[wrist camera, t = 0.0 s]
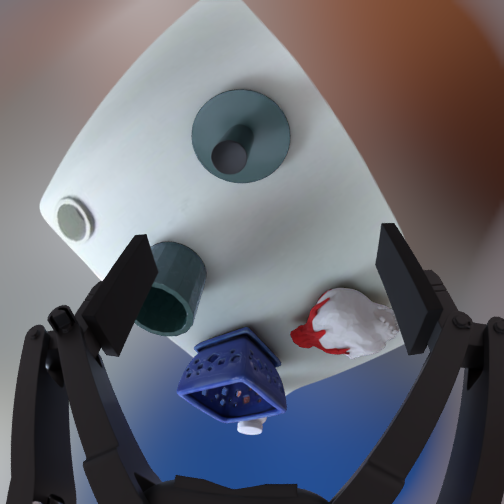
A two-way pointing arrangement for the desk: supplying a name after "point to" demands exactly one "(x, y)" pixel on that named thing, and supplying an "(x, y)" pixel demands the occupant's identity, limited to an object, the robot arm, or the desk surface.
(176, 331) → the pot
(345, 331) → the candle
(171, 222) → the desk surface
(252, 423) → the pill bottle
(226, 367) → the flower pot
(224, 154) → the lid
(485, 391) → the robot arm
